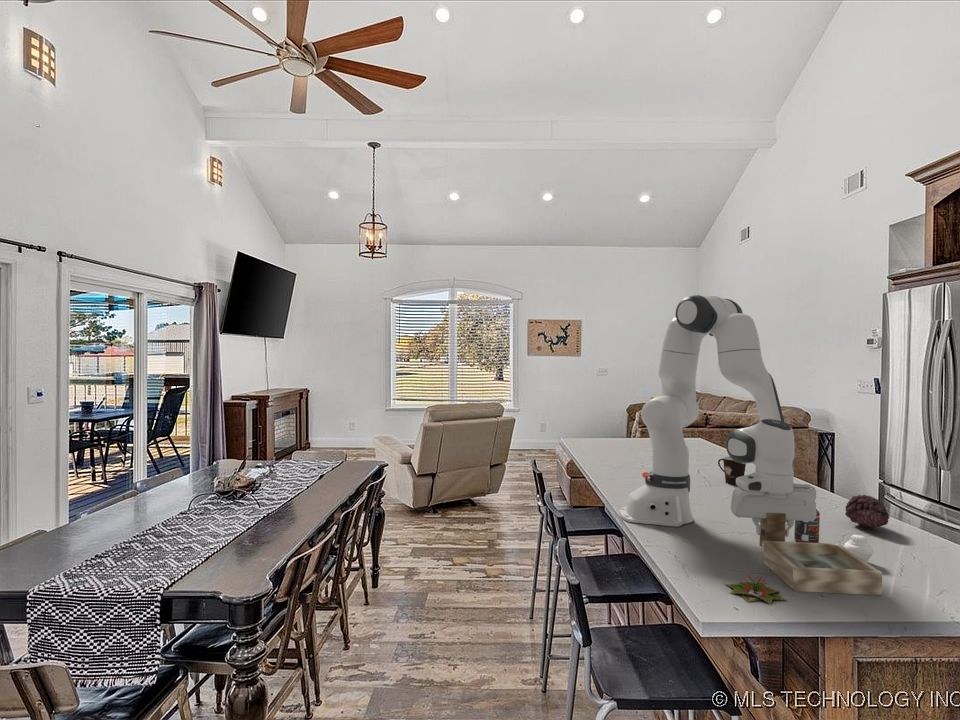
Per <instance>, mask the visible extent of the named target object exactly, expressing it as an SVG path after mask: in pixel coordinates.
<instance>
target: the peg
mask: <svg viewBox="0 0 960 720" xmlns="http://www.w3.org/2000/svg"><path fill="white" fill-rule="evenodd" d="M786 523H787V522H786V514H783V513H767V517H766V519H762V518H761V522H759V525H760V527H763V528H764V529H765V532H764V533H765V534H764V535H759V543H758V544H759V547H761V548H762V541H780V542H786V537H785V525H786Z"/></svg>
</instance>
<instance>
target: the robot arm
mask: <svg viewBox="0 0 960 720" xmlns="http://www.w3.org/2000/svg"><path fill="white" fill-rule="evenodd" d="M664 334H665V335H664V338H663V342H662V347H661V353H660V361H659V367H658V376H659V378H660V381H661V390H662V393H661V395H659V396H655V397H652V398H651V399H649V400H648V401H647V402H645V404H644V405H643V406H642V408H641V412H640V414H641V420H642V422H643V424H644V425H645V427H646V428H647V431H648V436H649V440H650V444H651V471H649V472H648V471H647V470H644V471H642V472H641V476H642V478H644V482H645V483H644V484H642V485H640V486H639V487H638V488H636V489H634V490H633V491H631V492H630V494H628V497H627V500H626V506H623V507H620V509H619V511H618V515H619V516H620V518H621V519H622V520H624V521H626V522H629V523H634V524H647V525H654V526H657V525H658V526H667V527H675V528H676V527H677V528H678V527H682V526H683V525H686V524H690V523H692V522H694V516H693V511H692V508H691V507H692V506H691V499H690V492H691V475H690V474H689V469H690V468H689V467H690V466H689V465H690V462H689V461H690V451H689V448H688V446H687V444H686V442H685V438H684V437H685V436H684V433H683V428H686V427H688V426H690V425H692V424H693V423H694V422H695V421H696V420H697V419H698V417H699V414H700V408H699V406H700V405H699V404H698V402H697V389H696V388H697V387H696V376H697V370H698V363H699V356H700V350H701V343H702V341H703V339H704V337H706V336H708V335H709V336H710V337H714V339H715V341H716V348H717V360H718V367H719V371H720V373H721V375H722V376H723V377H724V378H725V379H726V380H727V381H728V382H730V383H732V384H734V385H735V386H738V387H741V388H742V389H743V390H745V391H747V392H749V394H750V395H752V397H753V399H754V401H755V404H756V409H757V413H758V417H759V421H758V422H757V423H756V424H753V425H751V426H746V427H741V428H737V429H733V430H731V431H730V432H729V433H728V435H727V437H726V439H725V448H726V451H727V455H728V457H731V458H732V459H733V460H734V461H735V462H738V463H743V464H746V465H747V464H753V465H755V470H754V471H755V472H753V473H749V474H746V475H745V474H744V476H741V477H737V478H736V484H737V485H736V487H735V488H734V489H733V491H732V495H731V501H730V511H731V512H732V514H733V515H734V516H735V517H737V518H747V519H751V520H752V522H753V524H754V526H755V533H756V535H758V536H760V535H764V534H765V533H764V532H765V529H764V528H763V527H760V522H761V518H762V519H766V517H767V513H783V514H786V525H785V538H786V537H789V535H790V534H789V533H790V530H791V529H792V528H793V526H795V520H799V521H814V520H815V519H816V509H817V503H816V499H817V490H816V488H815V487H814V486H812V485H811V484H808V483H805V484H802V483H794V477H795V476H794V471H795V470H794V466H793V462H794V459H795V451H796V450H795V449H796V448H795V435H794V431H793V427H792V426H791V425H790V424H789V423H787V422H785V418H784V416H783V411H782V407H781V403H780V399H779V394H778V391H777V387H776V384H775V381H774V379H773V377H772V375H771V374H770V372H768V370H767V368H766V366H765V363H764V361H763V360H764V359H763V356H762V352H761V351H762V349H761V343H760V339H759V334H758V330H757V327H756V323H755V321H754V319H753V318H752V316H750V315H748V314H745V313H743V310H742V307H741V306H740V305H739V304H738V303H737V302H735V301H734V300H732V299H730V298H723V297H720V296H715V295H700V294H694V295H689V296H685V297H684V298H682V299H681V300H680V301H679V303H678V304H677V306H676V309H675V317H673V318H672V319H671V320H670V321H669V323H668V325H667V328H666V331H665V333H664Z"/></svg>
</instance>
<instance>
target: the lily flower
mask: <svg viewBox="0 0 960 720" xmlns="http://www.w3.org/2000/svg"><path fill="white" fill-rule="evenodd" d="M749 573H750V575H751V576H750V575H749V574H748V573H747V572H744V574H745V577H747V578H749V580H750V581H749V580H748V579H747V578H746V579H745V580H746V581H739V584H738V583H730V584H729V583H728V584H727V583H725V584H724V585H725V586H728V587H730V588H732V591H731V592H730V593H729V595H730V594H731V595H732V594H742V597H743V598H744V600H745V601H746V603H749V602H750V603H751V602H755V601H759V600H761V599H762V600H763V601H765V602H766V603H768V604H769V605H771V606H772V600H777V601H787V602H788V600H787V599H785V598H783V597H782V595H780V594H777V593H781V591H780V590H777V589H774V588H772V587H770V586H767V582H766V580H765V579H764V576H763V574H761V575H760V576H759V577H758V576H756V577H755V579H756V580H755V579H754V576H753V574H752V572H751V571H749ZM751 577H752V578H751ZM761 579H762V580H763V579H764V580H763V581H762V582H761V583H760V581H761ZM751 591H753V593H754V594H751V593H750V592H751ZM758 593H760V595H757V594H758ZM749 596H753V597H756V598H751V599H750V597H749Z"/></svg>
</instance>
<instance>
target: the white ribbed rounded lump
mask: <svg viewBox="0 0 960 720" xmlns="http://www.w3.org/2000/svg"><path fill="white" fill-rule="evenodd" d="M843 548H845V549H846V550H848V551H850V552H851V553H853V554H854V555H856V556H857V557H859V558H860V559H862V560H864V561H865V562H867V563H868V562H869V560H870V559H871V558H872V556H873V554H874V551H875V550H874V548H873V547H872V545H870V543H869V542H868V538H866V537H865V536H864V535H861V534H852V535H851V536H850V538H849V540H848V541H847V542H845V543H844V545H843Z"/></svg>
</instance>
